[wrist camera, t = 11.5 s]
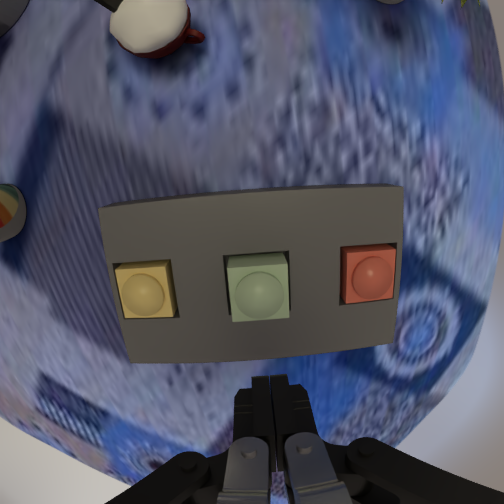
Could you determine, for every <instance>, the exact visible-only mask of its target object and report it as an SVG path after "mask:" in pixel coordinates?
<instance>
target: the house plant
mask: <svg viewBox="0 0 504 504" xmlns="http://www.w3.org/2000/svg"><path fill="white" fill-rule="evenodd" d="M377 1H379V2H382V3H385V4H397V3H399V2H401V1H403V0H377ZM466 1H467V0H461V5H462V7H463V5H464V4H465V2H466ZM442 2H443V0H442ZM478 3H479V0H478ZM479 6H480V3H479ZM462 7H461V8H462ZM460 10H461V9H460Z"/></svg>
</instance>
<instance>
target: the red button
mask: <svg viewBox="0 0 504 504" xmlns="http://www.w3.org/2000/svg"><path fill="white" fill-rule="evenodd" d="M395 255H396V249H395V248H393V247H391V246H390V245H388V244H386V243H381V244H368V245H354V246H341V247H340V293H339V295H340V296H341V297H342V299H343V300H344V302H345V303H346V304H347V303H356V302H364V301H372V300H380V299H388V298H392V297H393V285H394V272H395Z"/></svg>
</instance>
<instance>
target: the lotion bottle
mask: <svg viewBox="0 0 504 504" xmlns="http://www.w3.org/2000/svg"><path fill="white" fill-rule="evenodd" d="M25 219H26V205H25V201H24V198H23V196H22V194H21V192H20V191H19V190H18V188H16V187H15V186H13V185H11V184H0V242H3V241H5V240H7V239H10V238H12V237H14V236H15V235H17V234H18V233H19V232H20V231H21V230H22V228H23V226H24V223H25Z"/></svg>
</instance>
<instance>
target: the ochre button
mask: <svg viewBox="0 0 504 504" xmlns="http://www.w3.org/2000/svg"><path fill="white" fill-rule="evenodd" d="M115 273H116V278H117V283H118V288H119V293H120V297H121V302H122V306H123V311H124V315H125V318H150V317H173V316H174V314H175V311H176V309H177V307H178V303H177V297H176V291H175V284H174V278H173V271H172V264H171V259H164V260H151V261H137V262H123V263H122V264H121V265H120V266H119V267H118V268H117V269H115Z"/></svg>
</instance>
